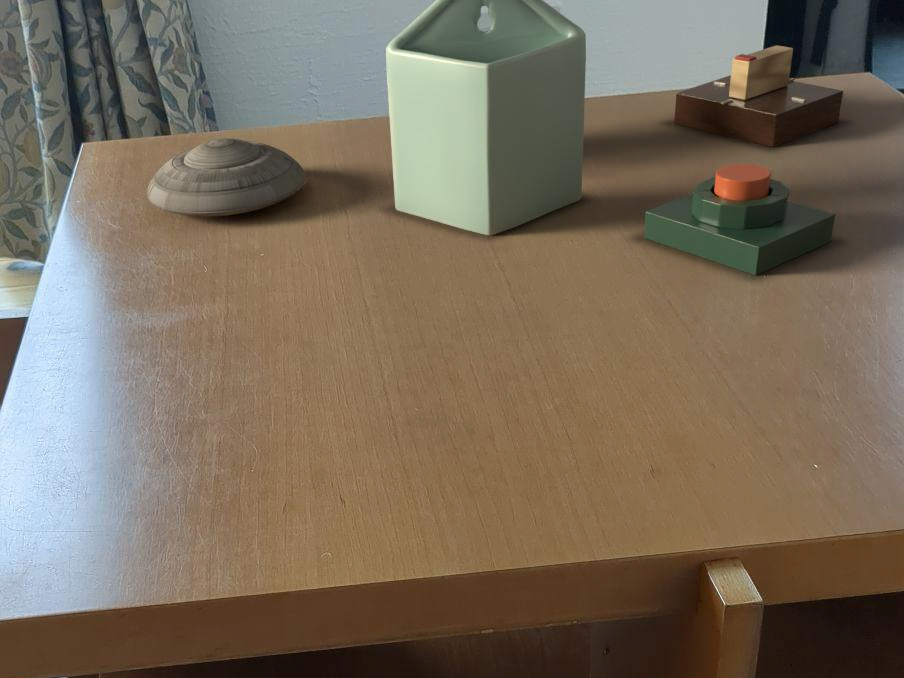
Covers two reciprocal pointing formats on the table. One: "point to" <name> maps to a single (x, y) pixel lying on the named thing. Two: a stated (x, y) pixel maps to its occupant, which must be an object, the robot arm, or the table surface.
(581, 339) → the table surface
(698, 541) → the table surface
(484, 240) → the table surface
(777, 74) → the handle
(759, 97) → the panel
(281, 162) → the flying saucer
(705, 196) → the button block
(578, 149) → the planter
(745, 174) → the button
